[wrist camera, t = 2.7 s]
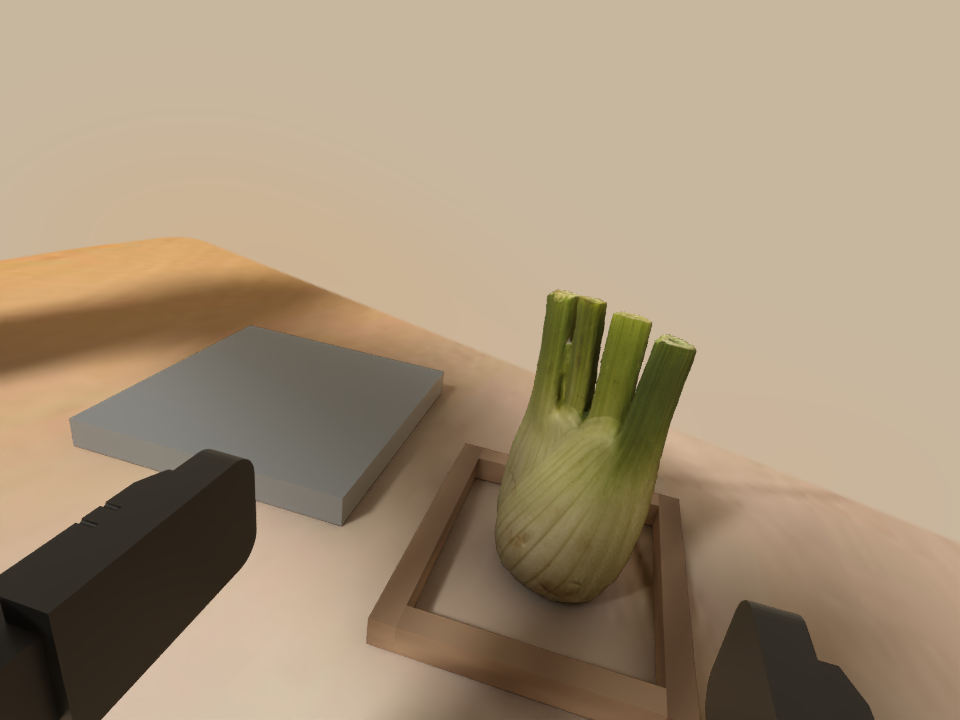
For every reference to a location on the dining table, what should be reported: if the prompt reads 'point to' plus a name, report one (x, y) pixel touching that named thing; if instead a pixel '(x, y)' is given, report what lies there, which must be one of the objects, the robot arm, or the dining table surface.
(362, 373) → the slate board
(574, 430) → the fennel bulb
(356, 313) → the dining table surface
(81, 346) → the dining table surface
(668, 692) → the walnut collar
